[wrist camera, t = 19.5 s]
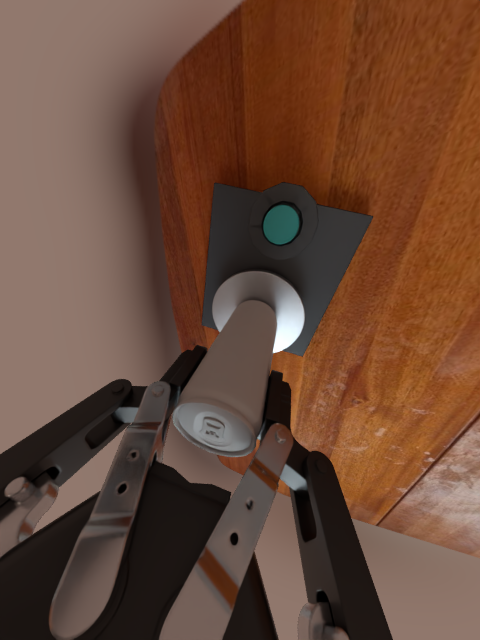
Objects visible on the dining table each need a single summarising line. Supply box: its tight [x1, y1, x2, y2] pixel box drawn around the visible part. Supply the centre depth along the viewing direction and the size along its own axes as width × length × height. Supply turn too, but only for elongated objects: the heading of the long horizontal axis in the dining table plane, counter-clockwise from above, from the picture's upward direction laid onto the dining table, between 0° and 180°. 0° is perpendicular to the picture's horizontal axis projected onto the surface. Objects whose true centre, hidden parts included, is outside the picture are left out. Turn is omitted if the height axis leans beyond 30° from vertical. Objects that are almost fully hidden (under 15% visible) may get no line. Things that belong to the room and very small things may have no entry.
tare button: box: [263, 205, 299, 244], centre depth 15 cm, size 3×3×2 cm
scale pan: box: [212, 269, 305, 353], centre depth 20 cm, size 10×10×1 cm
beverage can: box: [172, 300, 277, 457], centre depth 14 cm, size 5×5×12 cm
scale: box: [202, 182, 373, 356], centre depth 20 cm, size 17×14×3 cm
